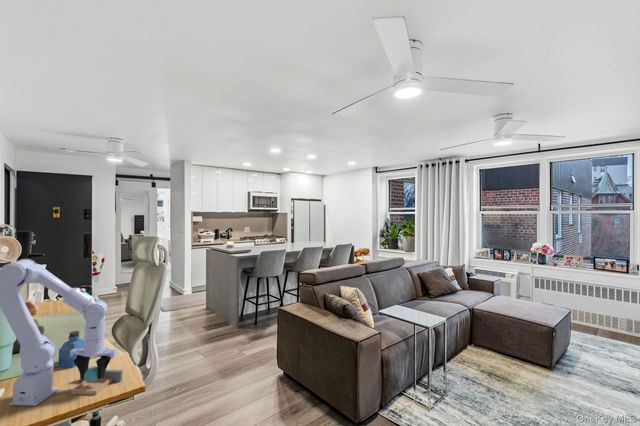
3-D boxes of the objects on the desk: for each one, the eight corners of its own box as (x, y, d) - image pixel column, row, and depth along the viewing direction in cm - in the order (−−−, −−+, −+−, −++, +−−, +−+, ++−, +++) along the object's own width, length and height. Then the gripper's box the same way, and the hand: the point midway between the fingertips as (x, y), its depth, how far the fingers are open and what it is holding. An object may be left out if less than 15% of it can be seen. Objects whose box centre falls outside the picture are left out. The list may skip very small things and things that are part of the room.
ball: (95, 385, 106) (96, 370, 106) (79, 385, 105) (80, 370, 105) (104, 378, 110) (105, 363, 111) (89, 377, 110) (90, 363, 110)
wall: (120, 381, 112) (120, 371, 112) (79, 380, 112) (80, 370, 112) (122, 380, 113) (122, 370, 113) (82, 378, 113) (82, 369, 113)
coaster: (96, 394, 104) (96, 390, 104) (71, 393, 104) (71, 390, 104) (111, 381, 112) (111, 378, 112) (88, 381, 112) (88, 377, 112)
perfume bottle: (86, 360, 126) (88, 330, 126) (73, 367, 120) (74, 336, 120) (72, 359, 127) (73, 329, 127) (58, 366, 121) (59, 334, 121)
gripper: (123, 333, 112) (121, 372, 112) (81, 332, 112) (79, 371, 112) (110, 341, 105) (108, 382, 105) (65, 340, 105) (63, 381, 104)
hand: (92, 377), depth 108 cm, fingers closed on ball, 5 cm apart
